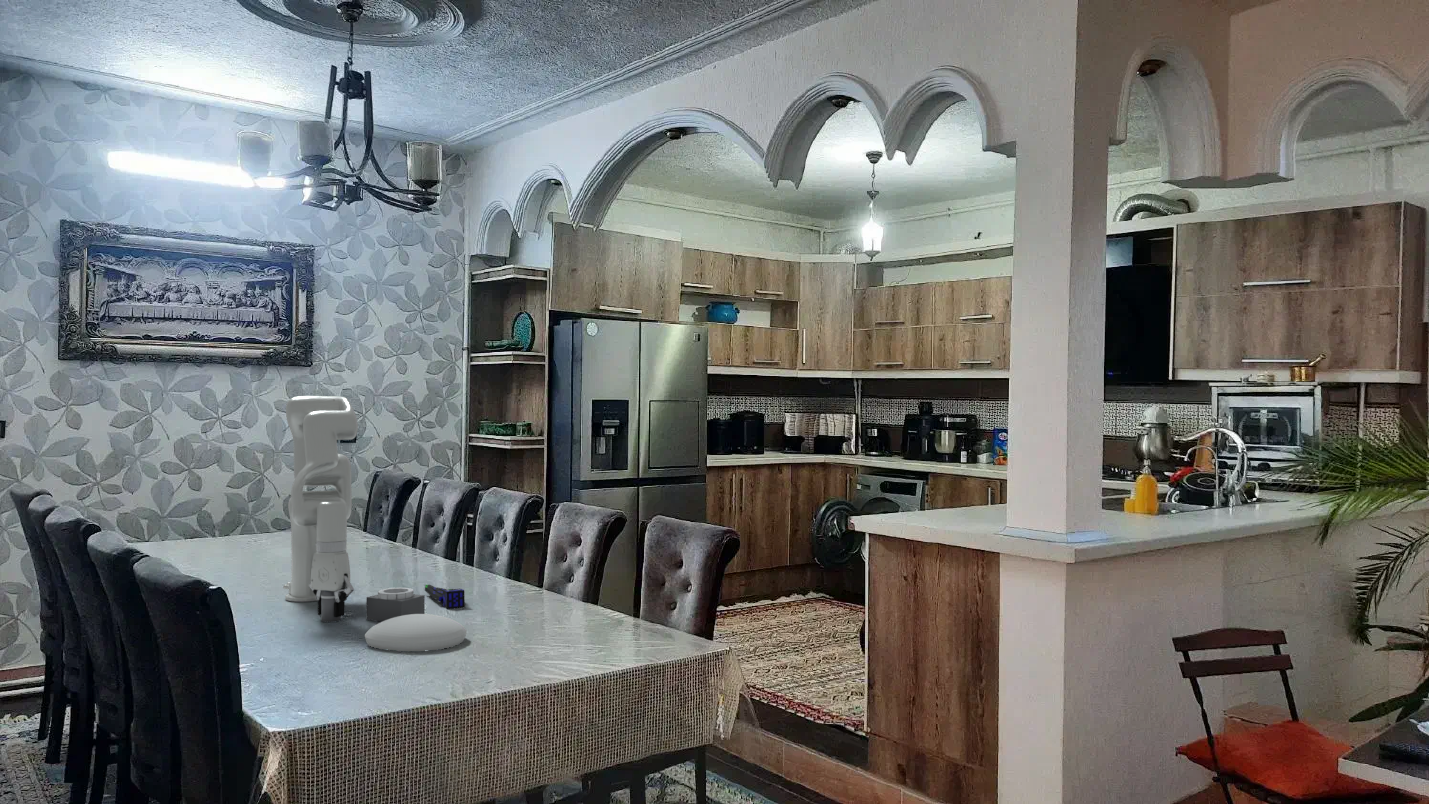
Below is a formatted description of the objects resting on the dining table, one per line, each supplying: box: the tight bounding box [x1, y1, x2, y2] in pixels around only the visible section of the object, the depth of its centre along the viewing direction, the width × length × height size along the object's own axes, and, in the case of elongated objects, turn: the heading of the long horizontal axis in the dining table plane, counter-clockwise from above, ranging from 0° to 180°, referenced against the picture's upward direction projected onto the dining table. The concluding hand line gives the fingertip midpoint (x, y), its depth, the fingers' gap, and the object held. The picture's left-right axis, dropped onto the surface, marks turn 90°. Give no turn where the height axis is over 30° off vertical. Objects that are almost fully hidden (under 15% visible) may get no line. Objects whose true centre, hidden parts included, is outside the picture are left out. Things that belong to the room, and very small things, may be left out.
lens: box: [320, 589, 342, 623], centre depth 271 cm, size 5×5×8 cm
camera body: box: [365, 587, 426, 622], centre depth 273 cm, size 12×9×8 cm
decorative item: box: [364, 613, 467, 652], centre depth 247 cm, size 24×7×20 cm
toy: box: [424, 584, 466, 610], centre depth 301 cm, size 8×5×30 cm
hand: (331, 614), depth 271 cm, fingers closed on lens, 5 cm apart
